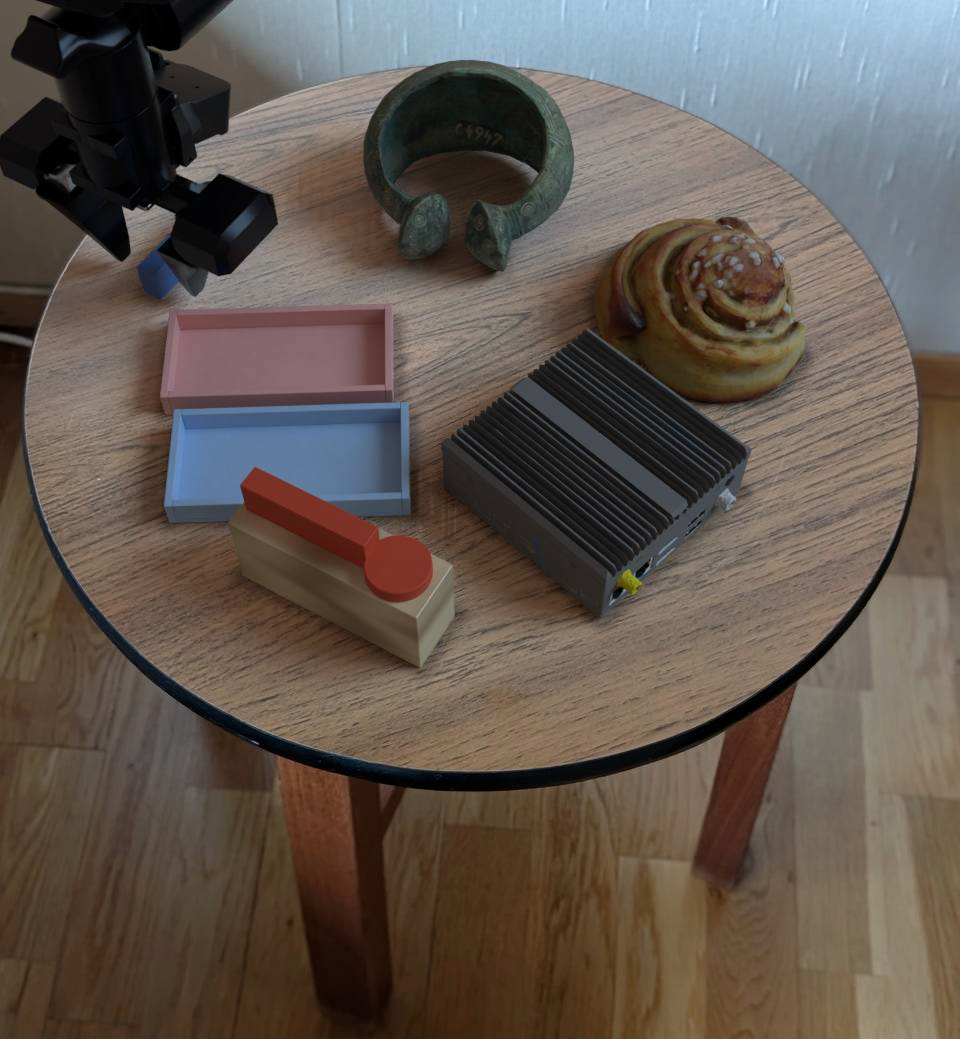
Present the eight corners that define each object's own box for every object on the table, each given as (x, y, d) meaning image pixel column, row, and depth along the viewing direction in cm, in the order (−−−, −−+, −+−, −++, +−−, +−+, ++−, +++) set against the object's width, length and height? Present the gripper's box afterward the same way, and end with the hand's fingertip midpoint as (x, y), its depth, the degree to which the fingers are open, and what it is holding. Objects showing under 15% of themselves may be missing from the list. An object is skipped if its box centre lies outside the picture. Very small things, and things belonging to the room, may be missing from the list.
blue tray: (169, 523, 83) (163, 506, 81) (179, 426, 87) (173, 409, 85) (410, 515, 83) (409, 498, 82) (409, 419, 87) (408, 401, 86)
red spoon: (445, 562, 74) (444, 538, 72) (410, 613, 73) (408, 591, 71) (272, 476, 78) (266, 451, 76) (234, 524, 76) (227, 499, 74)
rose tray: (165, 415, 88) (159, 397, 86) (175, 328, 92) (169, 309, 90) (394, 407, 88) (392, 389, 86) (393, 321, 92) (391, 303, 90)
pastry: (762, 430, 87) (786, 350, 80) (557, 345, 91) (563, 262, 84) (835, 297, 93) (862, 212, 87) (640, 222, 97) (652, 136, 90)
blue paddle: (230, 185, 99) (224, 159, 97) (272, 204, 98) (267, 178, 96) (130, 286, 94) (122, 260, 92) (173, 306, 93) (166, 281, 91)
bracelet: (349, 275, 94) (337, 166, 86) (381, 131, 103) (372, 19, 94) (561, 292, 93) (570, 184, 85) (577, 146, 102) (585, 34, 93)
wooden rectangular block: (455, 616, 79) (453, 564, 74) (420, 668, 78) (416, 619, 72) (279, 528, 83) (266, 472, 78) (242, 576, 81) (226, 522, 76)
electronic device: (613, 632, 79) (620, 589, 75) (436, 481, 85) (433, 433, 80) (752, 503, 84) (767, 456, 80) (576, 369, 90) (581, 319, 85)
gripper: (314, 68, 81) (336, 252, 94) (75, -28, 86) (128, 158, 99) (202, 178, 76) (243, 356, 89) (-44, 69, 81) (28, 252, 94)
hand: (160, 274), depth 93 cm, fingers open, 6 cm apart
